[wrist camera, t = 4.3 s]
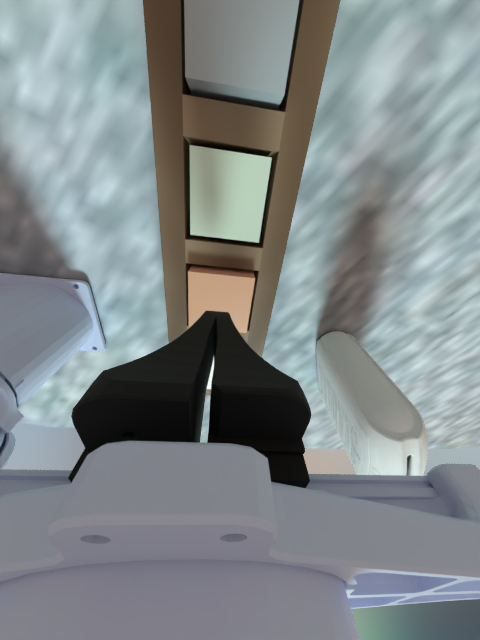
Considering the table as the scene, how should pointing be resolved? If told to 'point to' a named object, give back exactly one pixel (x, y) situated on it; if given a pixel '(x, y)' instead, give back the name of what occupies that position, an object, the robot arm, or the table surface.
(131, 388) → the robot arm
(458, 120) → the table surface
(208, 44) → the slate key
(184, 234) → the keyboard
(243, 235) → the sage key
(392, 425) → the white rounded slab
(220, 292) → the terracotta key
